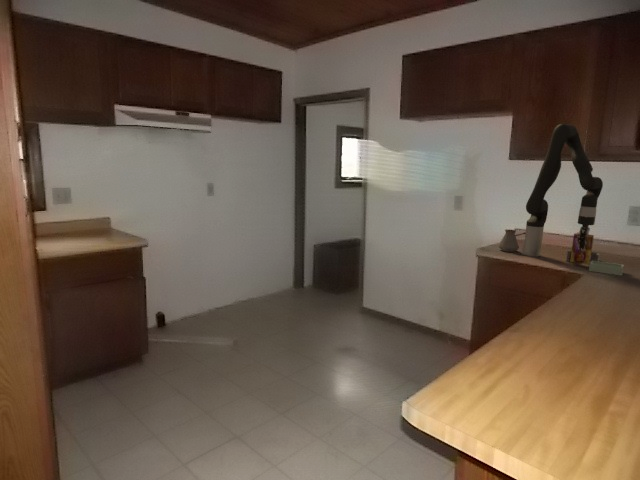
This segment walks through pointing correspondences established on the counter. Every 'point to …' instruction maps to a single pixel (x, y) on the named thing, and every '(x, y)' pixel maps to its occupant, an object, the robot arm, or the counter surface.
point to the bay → (594, 257)
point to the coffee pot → (509, 241)
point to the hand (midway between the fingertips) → (582, 247)
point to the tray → (606, 267)
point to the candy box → (581, 249)
